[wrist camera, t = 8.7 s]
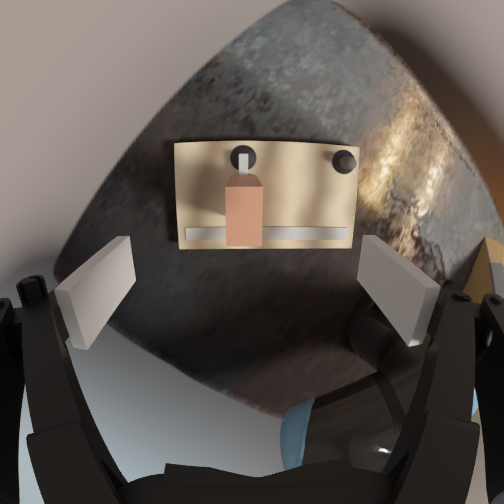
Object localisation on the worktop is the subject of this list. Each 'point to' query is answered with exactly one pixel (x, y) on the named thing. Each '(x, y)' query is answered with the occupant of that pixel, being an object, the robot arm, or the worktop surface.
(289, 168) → the board
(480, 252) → the sandwich container
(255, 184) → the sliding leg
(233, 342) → the worktop surface
